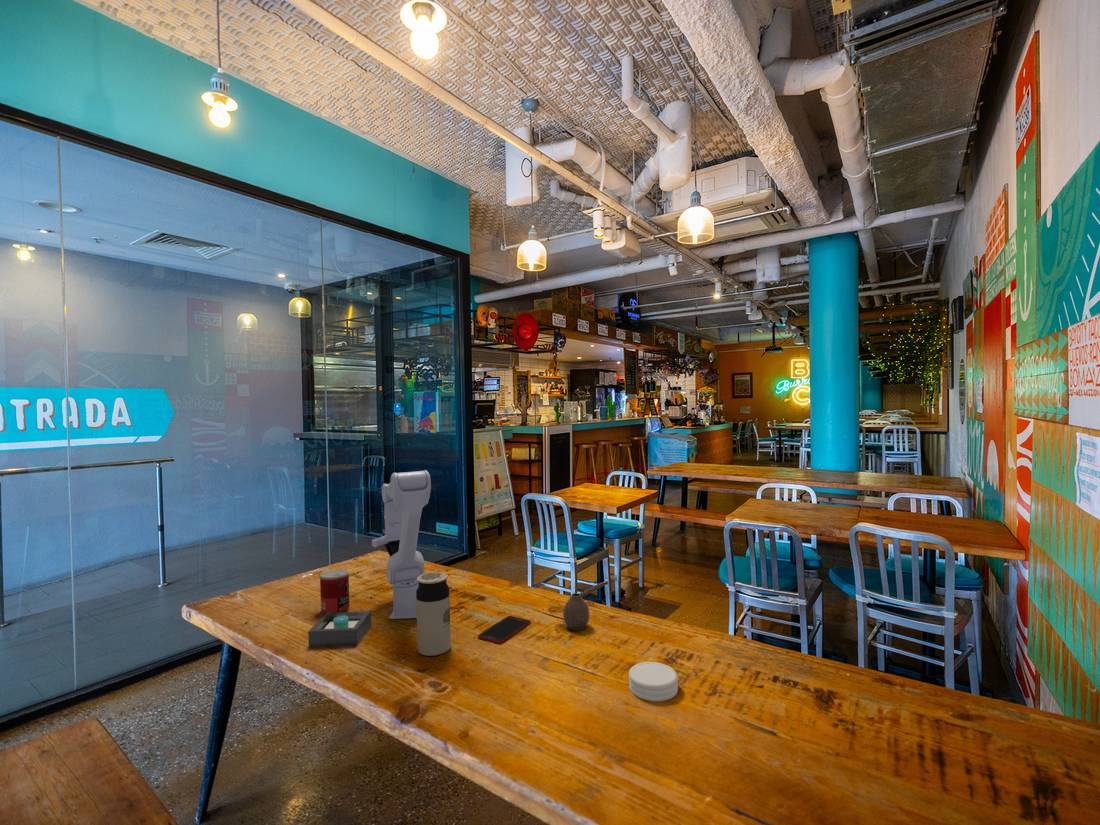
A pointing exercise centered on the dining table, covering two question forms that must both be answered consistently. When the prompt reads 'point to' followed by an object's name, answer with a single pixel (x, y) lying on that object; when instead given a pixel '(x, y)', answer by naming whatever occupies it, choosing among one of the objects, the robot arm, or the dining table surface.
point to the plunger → (341, 623)
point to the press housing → (339, 630)
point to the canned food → (334, 591)
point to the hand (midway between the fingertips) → (395, 564)
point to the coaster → (653, 681)
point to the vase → (576, 612)
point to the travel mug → (433, 614)
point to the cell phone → (504, 630)
